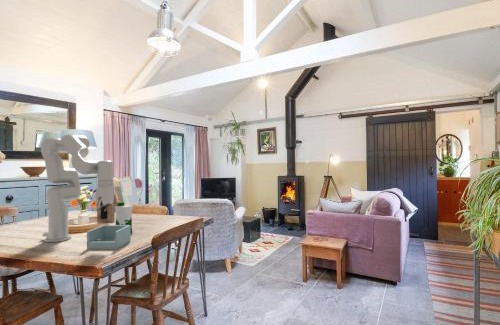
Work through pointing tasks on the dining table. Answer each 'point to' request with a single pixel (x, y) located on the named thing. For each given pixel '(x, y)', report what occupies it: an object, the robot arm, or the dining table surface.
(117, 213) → the milk carton
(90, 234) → the teal open bin
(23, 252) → the dining table surface
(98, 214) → the tan upright block
